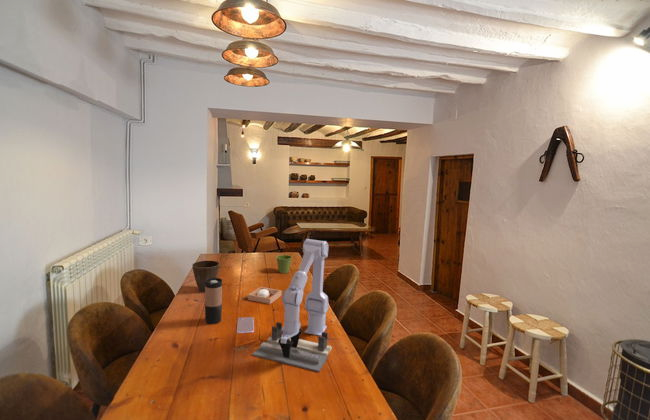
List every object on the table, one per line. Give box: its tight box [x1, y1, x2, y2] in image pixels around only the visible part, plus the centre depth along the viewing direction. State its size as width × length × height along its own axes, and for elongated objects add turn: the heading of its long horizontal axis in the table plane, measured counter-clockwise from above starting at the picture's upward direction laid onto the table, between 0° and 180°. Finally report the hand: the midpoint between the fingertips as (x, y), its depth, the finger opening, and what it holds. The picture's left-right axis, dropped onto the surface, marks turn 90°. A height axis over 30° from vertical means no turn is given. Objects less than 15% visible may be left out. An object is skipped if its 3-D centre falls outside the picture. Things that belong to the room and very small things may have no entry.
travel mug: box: [204, 277, 223, 325], centre depth 153 cm, size 8×8×20 cm
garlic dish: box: [247, 286, 283, 305], centre depth 186 cm, size 14×14×3 cm
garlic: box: [257, 289, 271, 298], centre depth 188 cm, size 8×7×4 cm
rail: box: [260, 341, 321, 364], centre depth 128 cm, size 2×25×2 cm, turn 72°
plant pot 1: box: [192, 260, 220, 293], centre depth 192 cm, size 15×15×16 cm
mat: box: [251, 341, 328, 373], centre depth 128 cm, size 10×28×1 cm, turn 72°
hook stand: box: [266, 321, 333, 357], centre depth 136 cm, size 6×27×7 cm, turn 72°
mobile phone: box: [236, 316, 255, 334], centre depth 152 cm, size 8×1×15 cm
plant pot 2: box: [275, 254, 293, 274], centre depth 234 cm, size 12×12×11 cm
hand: (290, 351), depth 128 cm, fingers open, 7 cm apart
